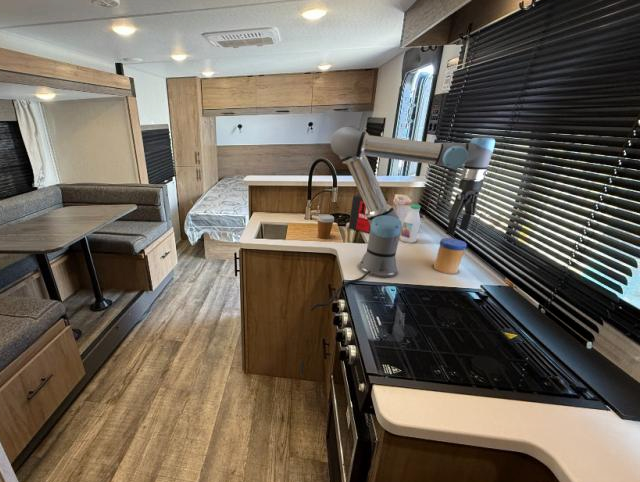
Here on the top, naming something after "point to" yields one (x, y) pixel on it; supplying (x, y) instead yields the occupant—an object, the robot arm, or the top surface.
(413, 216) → the milk bottle
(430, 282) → the top surface
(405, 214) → the coffeecake box
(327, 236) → the disposable coffee cup
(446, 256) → the jam jar
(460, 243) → the jar lid
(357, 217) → the cleaning product box
